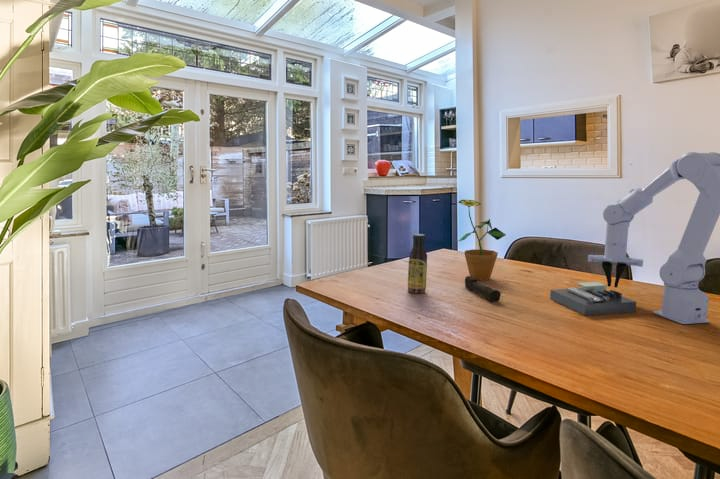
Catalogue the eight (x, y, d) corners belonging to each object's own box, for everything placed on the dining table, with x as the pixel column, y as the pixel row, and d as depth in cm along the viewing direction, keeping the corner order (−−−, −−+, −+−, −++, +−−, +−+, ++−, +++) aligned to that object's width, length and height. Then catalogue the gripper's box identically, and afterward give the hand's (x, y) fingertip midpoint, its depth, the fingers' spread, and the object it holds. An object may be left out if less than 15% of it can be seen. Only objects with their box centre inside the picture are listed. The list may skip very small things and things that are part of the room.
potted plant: (454, 282, 153) (456, 201, 148) (458, 271, 170) (459, 198, 166) (506, 285, 147) (509, 201, 143) (503, 273, 165) (506, 198, 160)
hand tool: (501, 302, 129) (501, 287, 128) (489, 303, 128) (489, 288, 128) (472, 287, 147) (473, 274, 147) (462, 287, 147) (462, 275, 146)
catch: (606, 291, 127) (606, 285, 127) (585, 292, 126) (585, 286, 126) (596, 288, 131) (597, 281, 131) (576, 289, 130) (577, 283, 130)
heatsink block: (635, 311, 118) (636, 296, 117) (584, 315, 115) (585, 300, 115) (595, 295, 133) (596, 282, 133) (550, 299, 131) (550, 285, 130)
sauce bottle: (405, 292, 141) (405, 235, 138) (411, 288, 146) (411, 232, 143) (423, 295, 138) (423, 236, 134) (429, 290, 143) (429, 233, 140)
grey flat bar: (603, 301, 117) (604, 298, 117) (594, 302, 117) (594, 299, 117) (574, 289, 129) (575, 287, 129) (566, 290, 129) (566, 287, 129)
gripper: (587, 243, 129) (584, 285, 131) (643, 247, 120) (639, 292, 122) (591, 240, 134) (588, 280, 136) (645, 244, 126) (641, 287, 128)
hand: (612, 286), depth 130 cm, fingers closed
